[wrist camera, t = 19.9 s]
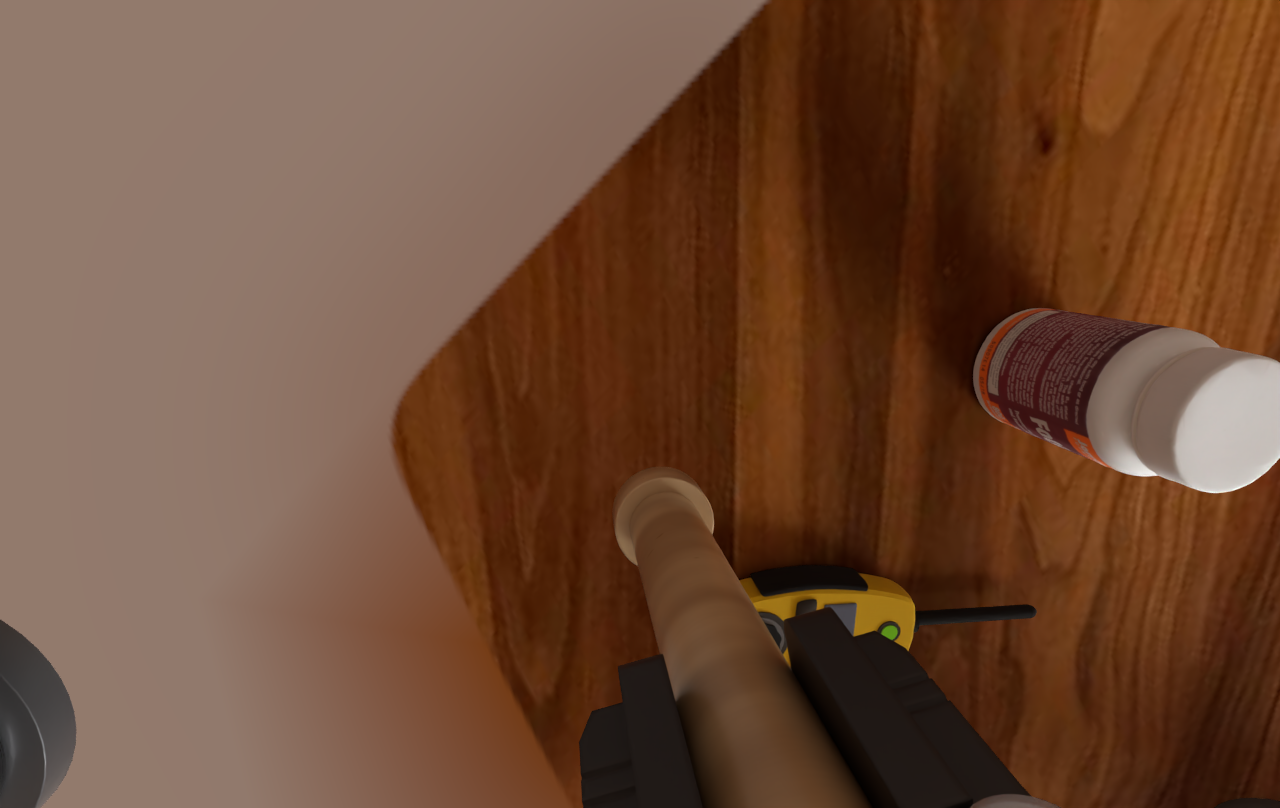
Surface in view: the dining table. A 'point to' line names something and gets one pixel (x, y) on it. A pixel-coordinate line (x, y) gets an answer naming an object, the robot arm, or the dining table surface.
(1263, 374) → the pill bottle
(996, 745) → the dining table surface
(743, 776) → the muddler
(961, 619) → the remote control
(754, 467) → the dining table surface
